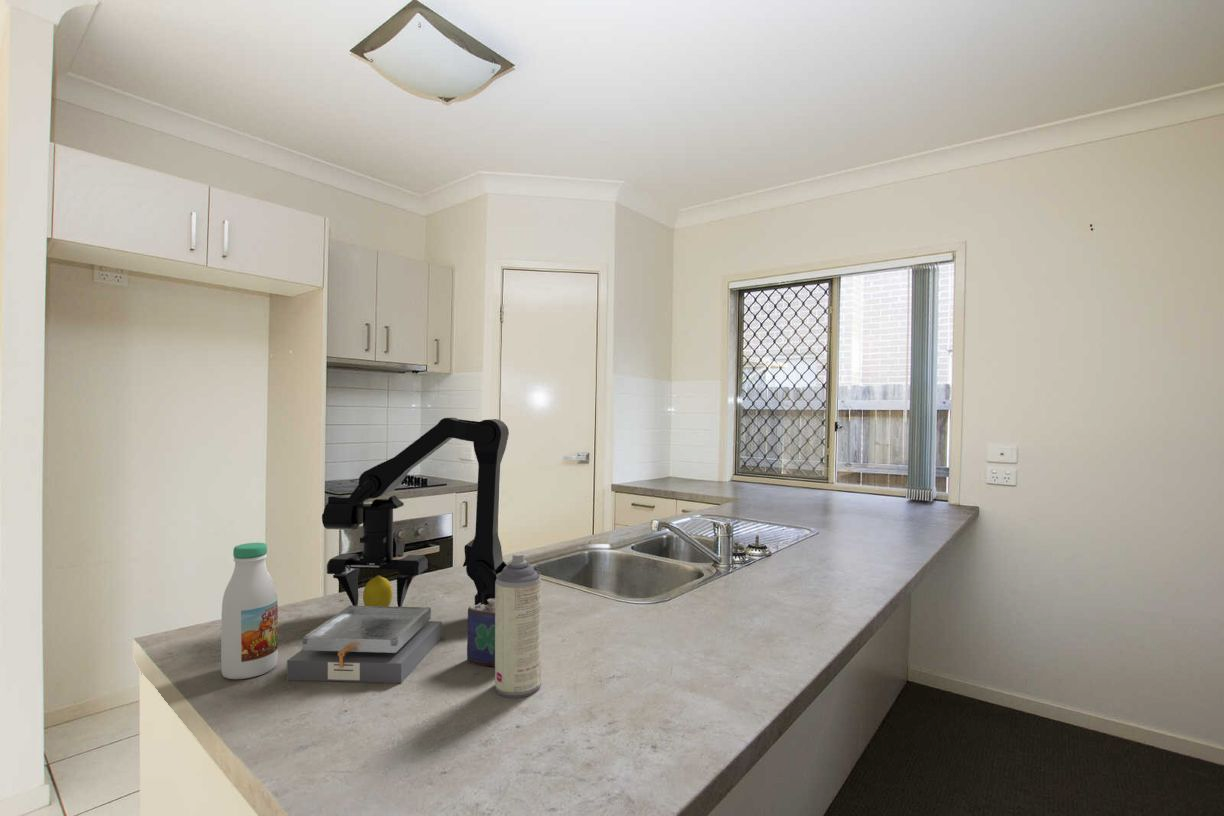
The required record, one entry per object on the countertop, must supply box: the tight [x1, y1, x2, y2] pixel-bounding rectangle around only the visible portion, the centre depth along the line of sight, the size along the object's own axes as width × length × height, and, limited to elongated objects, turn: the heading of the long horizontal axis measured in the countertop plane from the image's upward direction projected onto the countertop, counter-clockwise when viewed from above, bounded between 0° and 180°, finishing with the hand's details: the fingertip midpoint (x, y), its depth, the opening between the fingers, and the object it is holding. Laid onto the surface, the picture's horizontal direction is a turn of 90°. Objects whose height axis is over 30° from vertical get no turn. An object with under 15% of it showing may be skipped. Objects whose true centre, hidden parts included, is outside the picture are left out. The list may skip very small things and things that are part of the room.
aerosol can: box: [494, 552, 542, 699], centre depth 90 cm, size 7×7×20 cm
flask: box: [466, 598, 495, 668], centre depth 98 cm, size 9×3×11 cm, turn 74°
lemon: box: [362, 574, 393, 607], centre depth 121 cm, size 6×6×8 cm
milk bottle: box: [220, 542, 279, 680], centre depth 95 cm, size 8×8×20 cm
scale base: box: [286, 620, 443, 684], centre depth 100 cm, size 18×18×3 cm
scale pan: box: [301, 605, 432, 668], centre depth 99 cm, size 15×17×4 cm
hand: (377, 606), depth 121 cm, fingers open, 9 cm apart
